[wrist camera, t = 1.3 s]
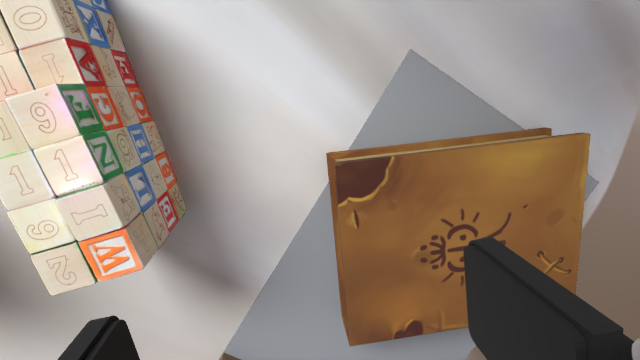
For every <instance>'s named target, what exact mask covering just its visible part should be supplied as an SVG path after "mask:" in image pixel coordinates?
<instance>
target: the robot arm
mask: <svg viewBox="0 0 640 360" xmlns="http://www.w3.org/2000/svg"><path fill="white" fill-rule="evenodd" d="M463 254H464V269H465V284H466V298H467V313H468V328H469V332H470V335H471V338H472V340H473V341H474V343H475V344H476V345H477V347H478V348H479V349H480V351H481V352H482V353H483V354H484V356H485V357H486V359H487V360H640V338H639V339H637V340H636V341H635V342H634V341H632V340H631V339H629V338H628V337H627V336H625V335H624V334H623V328H622V327H620V326H619V325H618V324H616V323H615V322H613V321H612V320H610V319H609V318H607V317H606V316H605V315H603V314H602V313H600V312H599V311H598V310H596V309H595V308H593V307H592V306H590V305H589V304H588V303H586V302H585V301H583V300H582V299H580V298H579V297H577V296H576V295H575V294H573V293H572V292H570V291H569V290H568V289H566V288H565V287H563V286H562V285H560V284H559V283H558V282H556V281H555V280H553V279H552V278H550V277H549V276H548V275H546V274H545V273H543V272H542V271H540V270H539V269H537V268H536V267H535V266H533V265H532V264H530V263H529V262H527V261H526V260H525V259H523V258H522V257H520V256H519V255H517V254H516V253H515V252H513V251H512V250H510V249H509V248H507V247H506V246H505V245H503V244H502V243H500V242H499V241H497V240H496V239H495V238H493V237H485V238H481V239H476V240H471V241H470V242H469V244H468V247H465V248H464V251H463ZM58 360H140V359H139V356H138V353H137V351H136V348H135V345H134V342H133V340H132V337H131V334H130V332H129V329H128V326H127V324H126V322H125V321H124V320H119V318H118V317H117V316H110V317H105V318H100V319H95V320H91V321H89V322H88V323H87V324H86V325H85V327H84V328H83V329H82V330H81V332H80V333H79V334H78V335H77V336H76V338H75V339H74V340H73V341H72V343H71V344H70V345H69V346H68V347H67V349H66V350H65V351H64V352H63V354H62V355H61V356H60V357H59V359H58Z"/></svg>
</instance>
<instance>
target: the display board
mask: <svg viewBox="0 0 640 360" xmlns="http://www.w3.org/2000/svg"><path fill="white" fill-rule="evenodd" d="M521 130H524V129H523V128H522V127H520V126H519V125H517V124H516V123H515V122H513V121H512V120H510V119H509V118H507V117H506V116H505V115H503V114H502V113H500V112H499V111H498V110H496V109H495V108H493V107H492V106H490V105H489V104H488V103H486V102H485V101H483V100H482V99H481V98H479V97H478V96H476V95H475V94H473V93H472V92H471V91H469V90H468V89H466V88H465V87H464V86H462V85H461V84H459V83H458V82H456V81H455V80H454V79H452V78H451V77H449V76H448V75H447V74H445V73H444V72H442V71H441V70H439V69H438V68H437V67H435V66H434V65H432V64H431V63H430V62H428V61H427V60H425V59H424V58H422V57H421V56H420V55H418V54H417V53H415V52H414V51H413V50H411V49H410V51H409V53H408V54H407V56H406V57H405V59H404V61H403V62H402V64H401V66H400V67H399V69H398V70H397V72H396V74H395V75H394V77H393V79H392V80H391V82H390V83H389V85H388V87H387V88H386V90H385V91H384V93H383V95H382V96H381V98H380V100H379V101H378V103H377V104H376V106H375V108H374V109H373V111H372V113H371V114H370V116H369V117H368V119H367V121H366V122H365V124H364V125H363V127H362V129H361V130H360V132H359V134H358V135H357V137H356V138H355V140H354V142H353V143H352V145H351V147H350V148H349V150H357V149H365V148H374V147H383V146H391V145H400V144H409V143H417V142H426V141H435V140H443V139H452V138H461V137H469V136H478V135H487V134H495V133H504V132H512V131H521ZM598 183H599V182H598V181H597V180H595V179H594V178H592V177H591V176H590V175H588V174H587V176H586V186H585V197H584V201H585V200H586V198H587V197H588V196H589V195H590V193H591V192H592V191H593V189H594V188H595V187H596V185H597V184H598ZM475 346H476V344H475V343H474V341H473V340H472V338H471V335H470V332H469V328H461V329H455V330H449V331H443V332H437V333H431V334H425V335H418V336H412V337H406V338H400V339H394V340H388V341H381V342H375V343H369V344H363V345H357V346H351V347H350V346H349V342H348V338H347V335H346V331H345V328H344V324H343V319H342V313H341V304H340V293H339V282H338V272H337V261H336V250H335V240H334V229H333V218H332V207H331V197H330V186H329V182H328V184H327V185H326V187H325V189H324V190H323V192H322V194H321V195H320V197H319V198H318V200H317V202H316V203H315V205H314V207H313V208H312V210H311V211H310V213H309V215H308V216H307V218H306V219H305V221H304V223H303V224H302V226H301V228H300V229H299V231H298V232H297V234H296V236H295V237H294V239H293V241H292V242H291V244H290V245H289V247H288V249H287V250H286V252H285V254H284V255H283V257H282V258H281V260H280V262H279V263H278V265H277V266H276V268H275V270H274V271H273V273H272V275H271V276H270V278H269V279H268V281H267V283H266V284H265V286H264V288H263V289H262V291H261V292H260V294H259V296H258V297H257V299H256V300H255V302H254V304H253V305H252V307H251V309H250V310H249V312H248V313H247V315H246V317H245V318H244V320H243V322H242V323H241V325H240V326H239V328H238V330H237V331H236V333H235V335H234V336H233V338H232V339H231V341H230V343H229V344H228V346H227V347H226V349H225V351H224V352H223V354H222V356H221V357H220V359H219V360H465V359H466V358H467V356H468V355H469V354H470V352H471V351H472V350H473V348H474V347H475Z"/></svg>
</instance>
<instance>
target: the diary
mask: <svg viewBox="0 0 640 360" xmlns="http://www.w3.org/2000/svg"><path fill="white" fill-rule="evenodd" d="M551 131H552V129H551V128H538V129H529V130H521V131H512V132H504V133H495V134H487V135H478V136H469V137H461V138H452V139H443V140H435V141H426V142H417V143H409V144H400V145H391V146H383V147H374V148H365V149H357V150H348V151H339V152H330V153H326V154H327V165H328V176H329V186H330V197H331V207H332V218H333V229H334V240H335V250H336V261H337V272H338V282H339V293H340V304H341V313H342V319H343V324H344V328H345V331H346V335H347V338H348V342H349V346H350V347H351V346H357V345H363V344H369V343H375V342H381V341H388V340H394V339H400V338H406V337H412V336H418V335H425V334H431V333H437V332H443V331H449V330H455V329H461V328H468V313H467V298H466V284H465V269H464V254H463V251H464V248H465V247H468V244H469V242H470V241H471V240H476V239H481V238H485V237H493V238H495V239H496V240H497V241H499V242H500V243H502V244H503V245H505V246H506V247H507V248H509V249H510V250H512V251H513V252H515V253H516V254H517V255H519V256H520V257H522V258H523V259H525V260H526V261H527V262H529V263H530V264H532V265H533V266H535V267H536V268H537V269H539V270H540V271H542V272H543V273H545V274H546V275H548V276H549V277H550V278H552V279H553V280H555V281H556V282H558V283H559V284H560V285H562V286H563V287H565V288H566V289H568V290H569V291H570V292H572V293H573V294H575V291H576V281H577V271H578V260H579V249H580V239H581V229H582V218H583V207H584V197H585V186H586V176H587V165H588V155H589V144H590V134H588V133H575V134H567V135H558V136H551Z"/></svg>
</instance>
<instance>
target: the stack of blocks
mask: <svg viewBox="0 0 640 360" xmlns="http://www.w3.org/2000/svg"><path fill="white" fill-rule="evenodd" d="M125 52H126V49H125V47H124V44H123V42H122V39H121V37H120V34H119V31H118V29H117V26H116V24H115V21H114V19H113V17H112V15H111V12H110V9H109V6H108V4H107V1H106V0H0V200H1V202H2V204H3V205H4V207H5V208H6V209H7V214H8V216H9V218H10V220H11V222H12V223H13V225H14V227H15V229H16V231H17V233H18V235H19V236H20V238H21V240H22V242H23V243H24V245H25V247H26V249H27V250H28V252H29V253H30V254H31V260H32V262H33V264H34V266H35V268H36V269H37V271H38V273H39V275H40V277H41V279H42V281H43V282H44V284H45V286H46V288H47V290H48V292H49V293H50V294H51V295H53V296H54V295H57V294H60V293H64V292H67V291H71V290H74V289H78V288H81V287H85V286H89V285H93V284H95V283H96V282H97V281H105V280H109V279H112V278H115V277H119V276H122V275H125V274H129V273H132V272H135V271H139V270H141V269H144V267H145V266H146V265H147V263H148V262H149V261H150V259H151V258H152V256H153V255H154V253H155V252H156V251H157V250H158V249H159V248H160V247H161V245H162V244H163V243H164V241H165V240H166V239H167V237H168V236H169V233H170V232H171V231H172V229H173V228H174V226H175V225H176V224H177V222H178V220H180V219H181V218H182V216H183V215H184V213H185V212H186V210H187V208H186V205H185V203H184V200H183V198H182V195H181V192H180V190H179V187H178V184H177V179H176V177H175V174H174V171H173V169H172V166H171V164H170V161H169V158H168V156H167V153H166V151H165V148H164V145H163V142H162V140H161V137H160V135H159V132H158V130H157V127H156V124H155V122H154V121H153V120H152V118H151V115H150V113H149V110H148V108H147V105H146V102H145V100H144V97H143V95H142V92H141V89H140V88H139V87H138V84H137V81H136V78H135V76H134V73H133V71H132V68H131V66H130V63H129V61H128V58H127V56H126V54H125Z"/></svg>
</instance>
